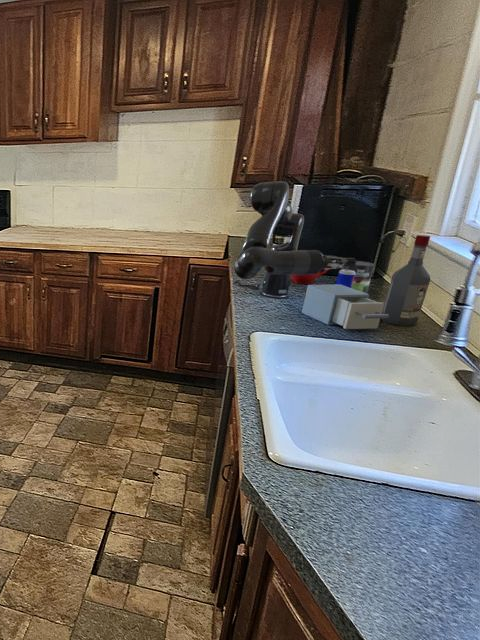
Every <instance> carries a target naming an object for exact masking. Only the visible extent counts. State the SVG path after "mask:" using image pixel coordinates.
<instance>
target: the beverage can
mask: <svg viewBox="0 0 480 640" xmlns="http://www.w3.org/2000/svg"><path fill="white" fill-rule="evenodd" d="M354 276H355V271H353V270H346V269H343V270H338V274H337V277H336V282H335V284H341V285H344V286H346V287H349V288H352V284H353V280H354Z"/></svg>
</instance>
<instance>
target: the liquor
mask: <svg viewBox="0 0 480 640" xmlns="http://www.w3.org/2000/svg"><path fill="white" fill-rule="evenodd" d="M430 239H431V236H430V235H425V234H417V235H416V236H415V240H414V243H413V248H412V252H411V255H410V257H409V260H408V261H407V263H406V264H405V265H403V266H402V267H400V268H399V269H398V270H396V271H394V273H393V274H392V275H391V278H390V282H389V286H388V289H387V293H386V297H385V299H384V302H383V303H384V307H383V310H382V314H388V315H389V317H388V318H380V320H381V321H382V322H384V323H387V324H390V325H395V326H399V327H400V326H402V327H408V326H413V325H416V324H417V323H418V321H419V317H420V314H421V311H422V307H423V304H424V301H425V299H426V296H427V292H428V288H429V285H430V282H431V275H430V274H429V273H428V271H427V270H426V268H425V267H424V258H425V254H426V251H427V247H428V246H429V243H430V242H429V241H430Z"/></svg>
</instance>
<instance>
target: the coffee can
mask: <svg viewBox="0 0 480 640" xmlns="http://www.w3.org/2000/svg"><path fill="white" fill-rule="evenodd" d="M375 266H376V264H375V263H373V262H369V261H362V260H356V264H355V266H347V267H346V268H345V269H346V270H353V271H355V276H354V280H353V284H352V289H355V290H358V291H361V292H364V293H367V294H368V291H369V286H370V283H371V279H372V276H373V273H374V269H375Z"/></svg>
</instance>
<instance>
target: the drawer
mask: <svg viewBox="0 0 480 640" xmlns="http://www.w3.org/2000/svg"><path fill="white" fill-rule="evenodd" d="M384 303H385V302H383V301H376V300H374V299H371V298H365V297H336V301H335V305H334V309H333V313H332V317H331V321H333V322H335V323H337V324H336V325H339V326H342V327H343V329H344V330H370V329H371V330H373V329H378V327H379V324H380V321H381V318H388V317H389V315H388V314H382V310H383V307H384Z"/></svg>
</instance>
